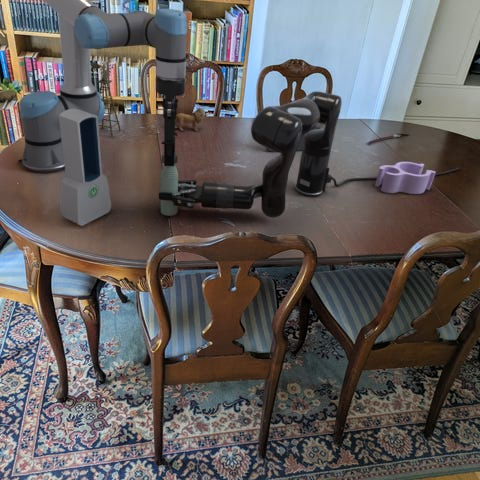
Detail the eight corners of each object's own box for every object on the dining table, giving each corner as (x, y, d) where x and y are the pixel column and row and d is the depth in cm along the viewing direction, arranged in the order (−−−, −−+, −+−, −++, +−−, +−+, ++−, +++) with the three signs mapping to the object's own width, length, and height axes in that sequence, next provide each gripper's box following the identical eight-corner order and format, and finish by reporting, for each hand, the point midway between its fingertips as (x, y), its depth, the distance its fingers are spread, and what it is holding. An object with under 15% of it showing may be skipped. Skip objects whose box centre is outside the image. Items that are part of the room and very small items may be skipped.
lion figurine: (202, 126, 204) (203, 106, 200) (205, 130, 200) (206, 110, 196) (169, 127, 200) (169, 106, 195) (172, 132, 195) (172, 110, 191)
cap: (162, 158, 133) (162, 150, 132) (177, 159, 133) (177, 151, 132) (161, 164, 129) (161, 156, 128) (176, 165, 130) (177, 157, 129)
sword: (406, 132, 223) (406, 130, 222) (411, 134, 221) (412, 132, 220) (362, 144, 207) (363, 141, 206) (368, 146, 205) (368, 143, 204)
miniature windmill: (112, 137, 184) (107, 58, 168) (92, 134, 185) (85, 54, 169) (121, 130, 192) (117, 53, 176) (102, 127, 193) (96, 50, 177)
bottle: (167, 217, 137) (167, 161, 128) (157, 210, 140) (157, 155, 130) (180, 212, 140) (182, 157, 131) (170, 205, 143) (171, 151, 134)
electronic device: (79, 228, 128) (67, 121, 112) (60, 218, 131) (46, 113, 115) (112, 211, 137) (105, 110, 121) (94, 202, 140) (85, 103, 124)
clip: (387, 196, 162) (393, 178, 159) (368, 180, 172) (373, 163, 168) (434, 192, 169) (440, 175, 165) (413, 177, 178) (419, 160, 175)
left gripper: (158, 67, 126) (158, 149, 138) (152, 85, 111) (153, 174, 124) (185, 70, 126) (183, 150, 139) (184, 87, 112) (182, 175, 125)
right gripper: (219, 173, 142) (162, 169, 140) (218, 195, 130) (156, 191, 128) (217, 195, 146) (162, 191, 144) (216, 218, 134) (156, 214, 132)
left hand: (169, 161), depth 131 cm, fingers closed on cap, 4 cm apart
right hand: (160, 191), depth 136 cm, fingers closed on bottle, 5 cm apart
